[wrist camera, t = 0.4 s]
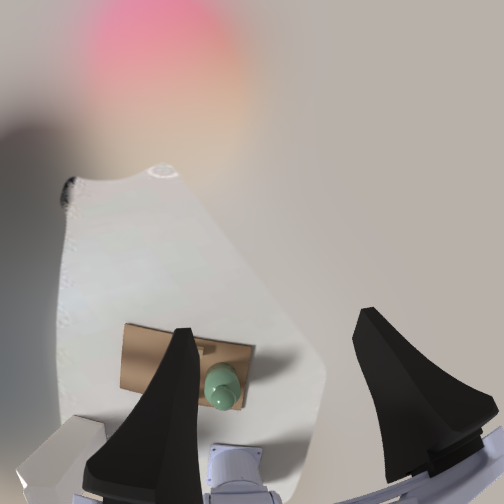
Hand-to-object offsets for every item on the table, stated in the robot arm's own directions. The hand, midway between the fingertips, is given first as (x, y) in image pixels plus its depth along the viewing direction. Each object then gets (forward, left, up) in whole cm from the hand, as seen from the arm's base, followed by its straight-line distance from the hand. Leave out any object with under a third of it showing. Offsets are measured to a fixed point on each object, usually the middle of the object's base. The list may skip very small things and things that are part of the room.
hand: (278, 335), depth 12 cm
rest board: (-11, +6, -28) cm, 30 cm away
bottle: (-11, 0, -27) cm, 29 cm away
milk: (-27, +20, -28) cm, 44 cm away
